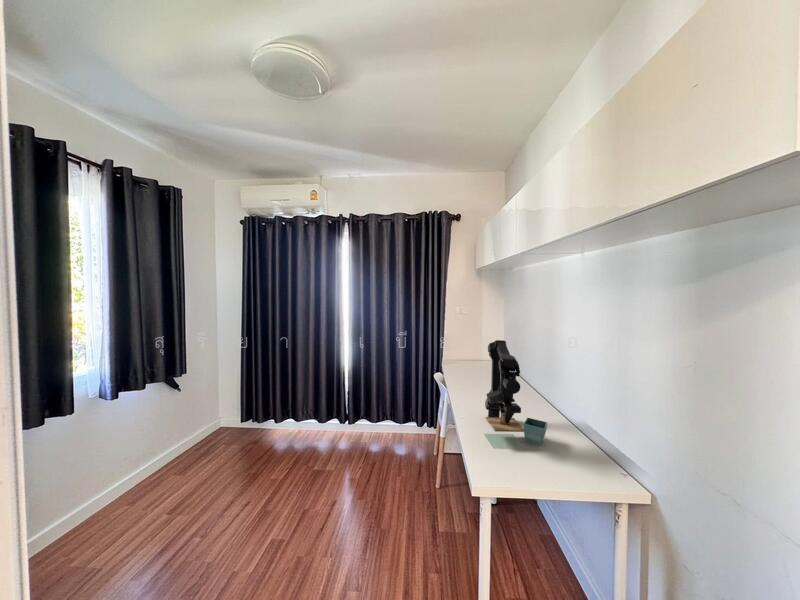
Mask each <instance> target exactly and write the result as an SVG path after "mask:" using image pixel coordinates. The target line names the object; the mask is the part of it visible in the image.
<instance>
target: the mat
mask: <svg viewBox="0 0 800 600" xmlns="http://www.w3.org/2000/svg"><path fill="white" fill-rule="evenodd" d="M483 435H484V437H485V438H486V440H487V441H488V443H489V444H490V446H491V447H492V449H495V450H497V449H500V450H508V449H509V450H513V449H514V450H526V447H525V446H524V445H523V444H522V442H521V441H520V440H519V438H517V436H515V434H514V433H483Z"/></svg>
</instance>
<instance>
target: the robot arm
mask: <svg viewBox="0 0 800 600" xmlns="http://www.w3.org/2000/svg"><path fill="white" fill-rule="evenodd" d="M487 352H488V356H489V358H490V359H491V380H490V381H491V382H490V383H491V386H490V390H489V392H487V393H486V394H485V395H486V400H485V402H484V407H485V410H487V417H495V418H500V417H501V413H505V423H509V421H510V420H511V418H513V416H514V415H515V414H521V413H522V407H521V406H520V405H519V404H518V403H516V402H515V401H516V400H515V398H514V395H515V394H518V393H519V392H520V391H521V384H520V382H519V381H518V380H517V377H520V374H521V369H520V365H519V361H517V359H516V357H515V355H514V356H513V355H511V354H510V351H509V349H508V346H507V341H506V340H500V339H496V340H494V341H492V342H490V343H488V345H487Z"/></svg>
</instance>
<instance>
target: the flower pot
mask: <svg viewBox="0 0 800 600" xmlns="http://www.w3.org/2000/svg"><path fill="white" fill-rule="evenodd" d="M523 422H524V423H523V428H524V429H525V432H523V433H524V434H523V435H524V438H525V440H526V442H527V443H530V444H534V445H536V446H540V445H541V444H542V443H543V440H544V439H545V437H546V432H547V428H548V421H543V420H540V419H535V418H532V417H526V420H525V421H523Z"/></svg>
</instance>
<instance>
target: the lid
mask: <svg viewBox="0 0 800 600" xmlns="http://www.w3.org/2000/svg"><path fill="white" fill-rule="evenodd" d="M485 420H486V421H487V423H488V424H489V425H490V427H491V428H492V429H493V431H494V432H495V433H496V432H502V433H503V432H504V433H506V432H507V433H508V432H509V433H510V432H511V433H515V432H516V433H524V432H525V429H524V426H522V425H521V424H520V423H519V422H518V420H516V418H514V417H512V418H511V420H510V421H509V423H505V413H501V412H500V418H495V417H488V416H486V417H485Z"/></svg>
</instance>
